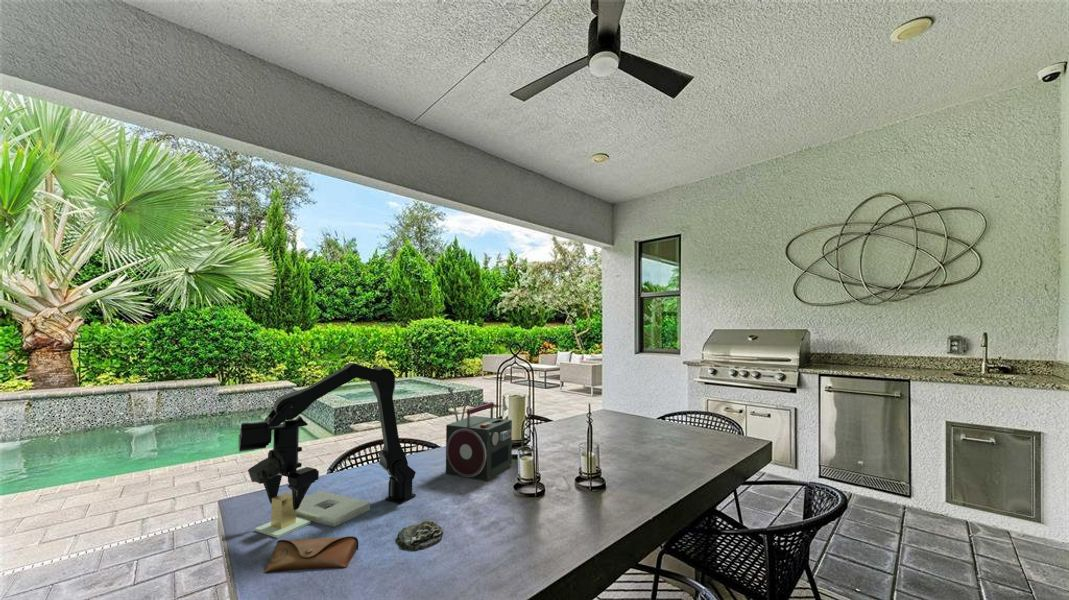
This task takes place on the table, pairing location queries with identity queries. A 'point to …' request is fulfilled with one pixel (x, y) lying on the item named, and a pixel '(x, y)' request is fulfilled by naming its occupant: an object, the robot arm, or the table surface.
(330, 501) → the aluminium plate
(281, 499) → the brass peg
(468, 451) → the boombox
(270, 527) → the sage mat
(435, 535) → the mossy grey rock
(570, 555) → the table surface
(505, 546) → the table surface
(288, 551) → the sunglasses case
